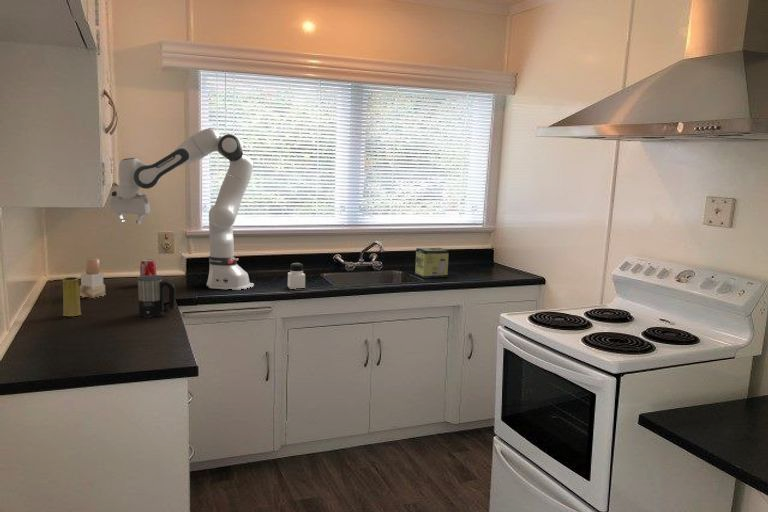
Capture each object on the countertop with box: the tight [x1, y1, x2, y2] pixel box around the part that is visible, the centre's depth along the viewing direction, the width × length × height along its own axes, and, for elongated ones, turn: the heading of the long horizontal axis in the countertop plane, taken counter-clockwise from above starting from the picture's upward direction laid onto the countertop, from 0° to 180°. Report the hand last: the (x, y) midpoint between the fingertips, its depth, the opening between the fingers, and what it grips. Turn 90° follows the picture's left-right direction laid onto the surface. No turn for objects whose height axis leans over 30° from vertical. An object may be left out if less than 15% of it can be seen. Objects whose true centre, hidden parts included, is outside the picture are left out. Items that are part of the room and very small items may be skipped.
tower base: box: [79, 283, 106, 299], centre depth 254 cm, size 7×7×5 cm
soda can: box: [139, 258, 157, 277], centre depth 279 cm, size 7×7×12 cm
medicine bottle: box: [287, 262, 306, 290], centre depth 286 cm, size 7×7×12 cm
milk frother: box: [136, 274, 176, 318], centre depth 231 cm, size 14×16×15 cm
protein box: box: [414, 247, 450, 278], centre depth 330 cm, size 10×16×16 cm
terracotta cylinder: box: [85, 257, 101, 274], centre depth 252 cm, size 5×5×6 cm
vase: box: [62, 276, 82, 317], centre depth 221 cm, size 6×6×14 cm
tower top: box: [80, 272, 104, 287], centre depth 253 cm, size 6×6×5 cm
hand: (130, 223), depth 275 cm, fingers open, 8 cm apart
